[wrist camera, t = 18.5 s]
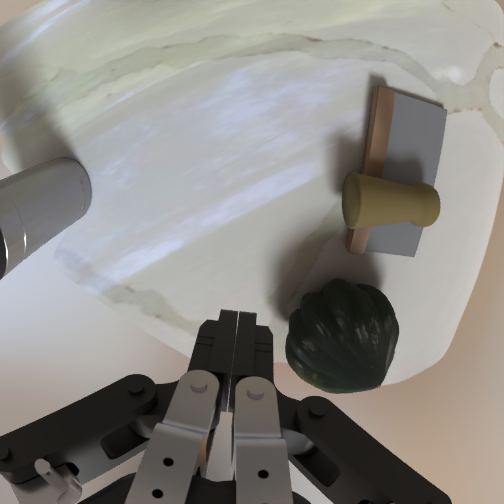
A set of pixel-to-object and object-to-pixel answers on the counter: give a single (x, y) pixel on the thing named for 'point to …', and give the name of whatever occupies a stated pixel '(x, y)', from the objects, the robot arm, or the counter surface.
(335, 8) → the counter surface
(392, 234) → the slate mat
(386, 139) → the walnut rail
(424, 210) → the olive pawn-shaped piece
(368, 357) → the squash
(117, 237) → the counter surface
